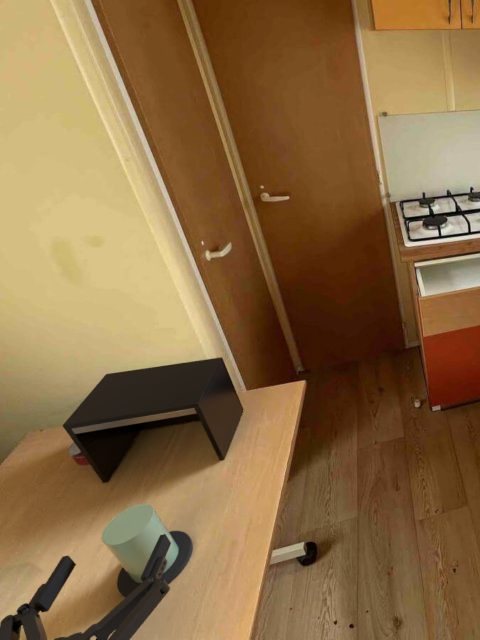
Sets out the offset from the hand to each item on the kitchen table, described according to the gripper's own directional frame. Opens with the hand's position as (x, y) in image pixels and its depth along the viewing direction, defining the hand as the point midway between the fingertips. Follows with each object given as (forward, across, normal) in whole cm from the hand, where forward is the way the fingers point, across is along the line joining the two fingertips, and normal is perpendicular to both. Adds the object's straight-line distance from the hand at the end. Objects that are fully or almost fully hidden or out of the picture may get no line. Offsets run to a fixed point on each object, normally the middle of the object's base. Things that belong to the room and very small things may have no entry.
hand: (118, 549), depth 70 cm
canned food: (+36, -25, -12) cm, 45 cm away
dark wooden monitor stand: (+33, -7, -12) cm, 36 cm away
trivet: (+4, 0, -12) cm, 12 cm away
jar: (+4, 0, -11) cm, 12 cm away
